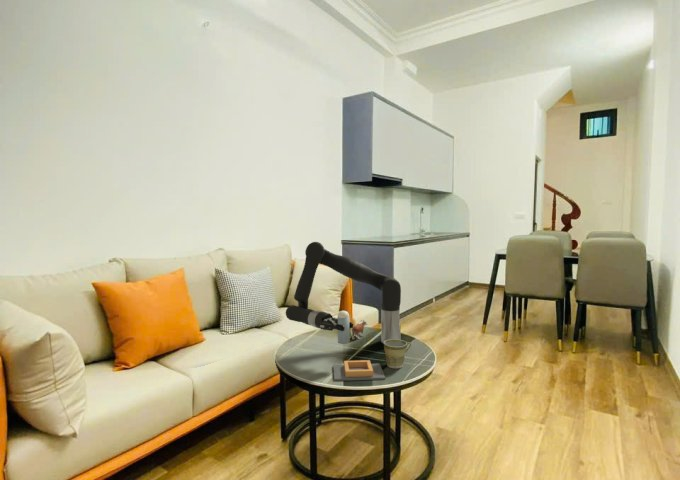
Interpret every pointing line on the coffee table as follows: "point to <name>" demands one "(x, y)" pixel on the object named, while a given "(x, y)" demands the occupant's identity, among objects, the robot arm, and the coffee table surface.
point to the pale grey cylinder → (344, 320)
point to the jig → (358, 371)
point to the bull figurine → (358, 329)
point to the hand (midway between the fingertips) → (348, 326)
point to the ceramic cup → (395, 352)
